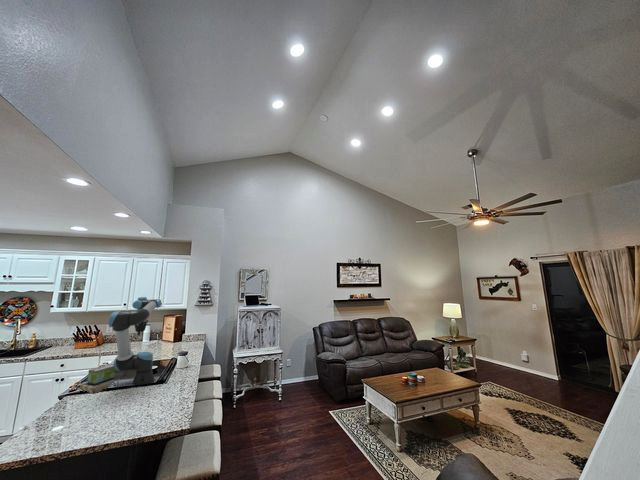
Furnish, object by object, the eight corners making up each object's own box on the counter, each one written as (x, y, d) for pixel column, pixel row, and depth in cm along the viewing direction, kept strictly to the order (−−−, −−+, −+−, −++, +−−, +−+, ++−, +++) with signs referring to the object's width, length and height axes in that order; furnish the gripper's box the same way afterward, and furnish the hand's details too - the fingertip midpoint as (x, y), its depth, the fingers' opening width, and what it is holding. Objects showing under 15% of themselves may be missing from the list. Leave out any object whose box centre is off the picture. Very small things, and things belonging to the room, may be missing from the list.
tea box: (95, 390, 215) (96, 370, 217) (86, 389, 218) (87, 369, 220) (114, 383, 229) (116, 364, 231) (106, 382, 232) (107, 363, 234)
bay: (108, 388, 219) (108, 383, 219) (93, 393, 210) (93, 388, 210) (94, 385, 226) (94, 380, 226) (79, 390, 217) (80, 384, 217)
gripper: (145, 312, 271) (143, 337, 268) (131, 314, 260) (130, 340, 257) (150, 312, 268) (149, 337, 266) (137, 314, 257) (135, 340, 254)
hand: (139, 338), depth 261 cm, fingers closed
